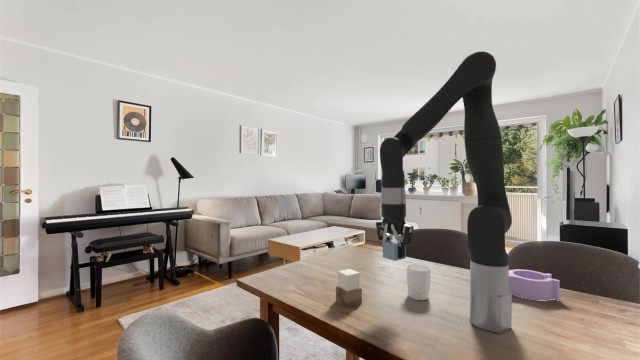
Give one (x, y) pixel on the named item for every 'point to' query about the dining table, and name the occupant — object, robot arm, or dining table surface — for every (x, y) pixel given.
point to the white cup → (418, 281)
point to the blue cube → (391, 250)
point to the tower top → (348, 279)
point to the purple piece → (533, 285)
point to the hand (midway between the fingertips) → (394, 256)
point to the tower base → (348, 297)
